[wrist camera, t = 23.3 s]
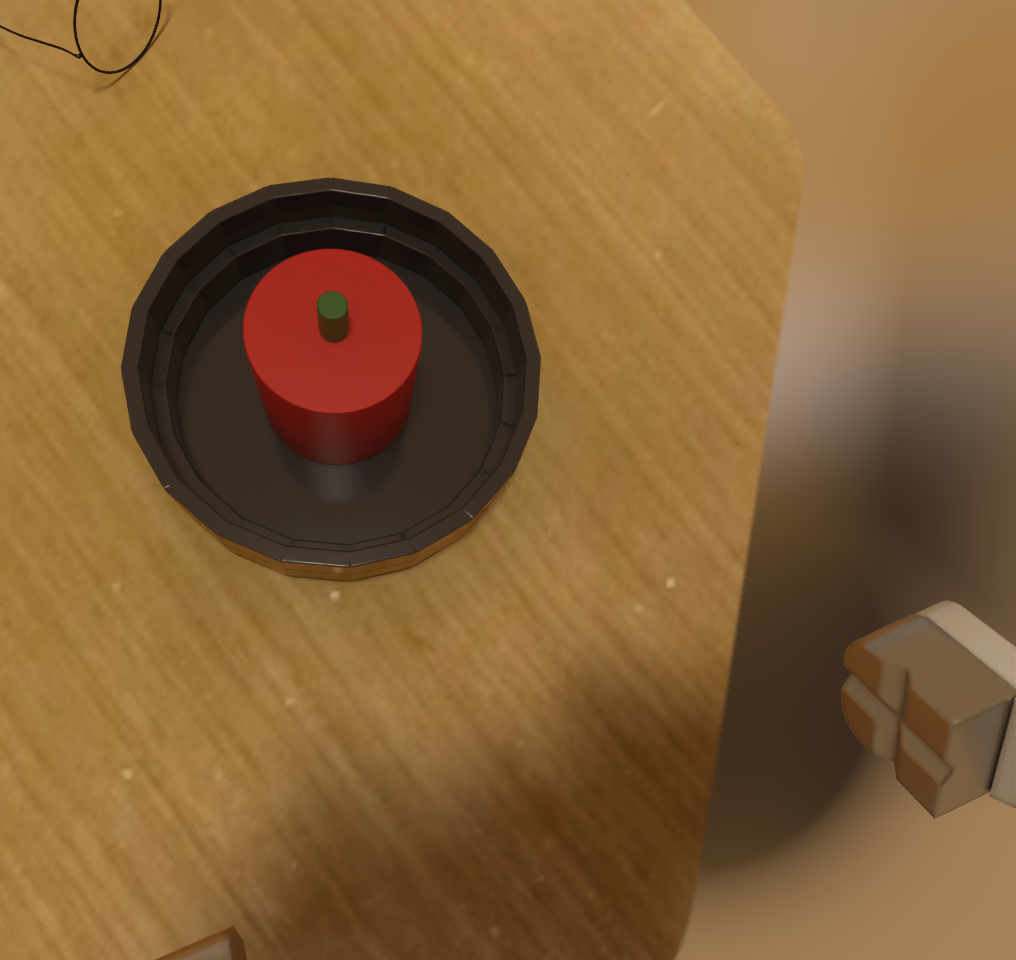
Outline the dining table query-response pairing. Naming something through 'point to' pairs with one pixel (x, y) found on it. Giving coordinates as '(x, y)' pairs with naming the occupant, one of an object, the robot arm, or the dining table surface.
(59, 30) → the dining table surface
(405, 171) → the dining table surface
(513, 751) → the dining table surface
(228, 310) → the pan
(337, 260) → the pepper
